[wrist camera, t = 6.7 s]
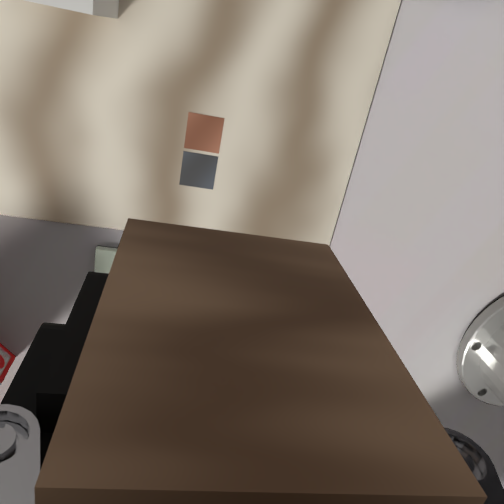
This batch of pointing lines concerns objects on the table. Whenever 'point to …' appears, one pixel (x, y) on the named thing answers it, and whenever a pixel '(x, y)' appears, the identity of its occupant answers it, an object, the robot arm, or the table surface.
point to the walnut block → (242, 385)
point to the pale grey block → (85, 6)
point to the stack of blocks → (5, 361)
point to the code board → (188, 111)
